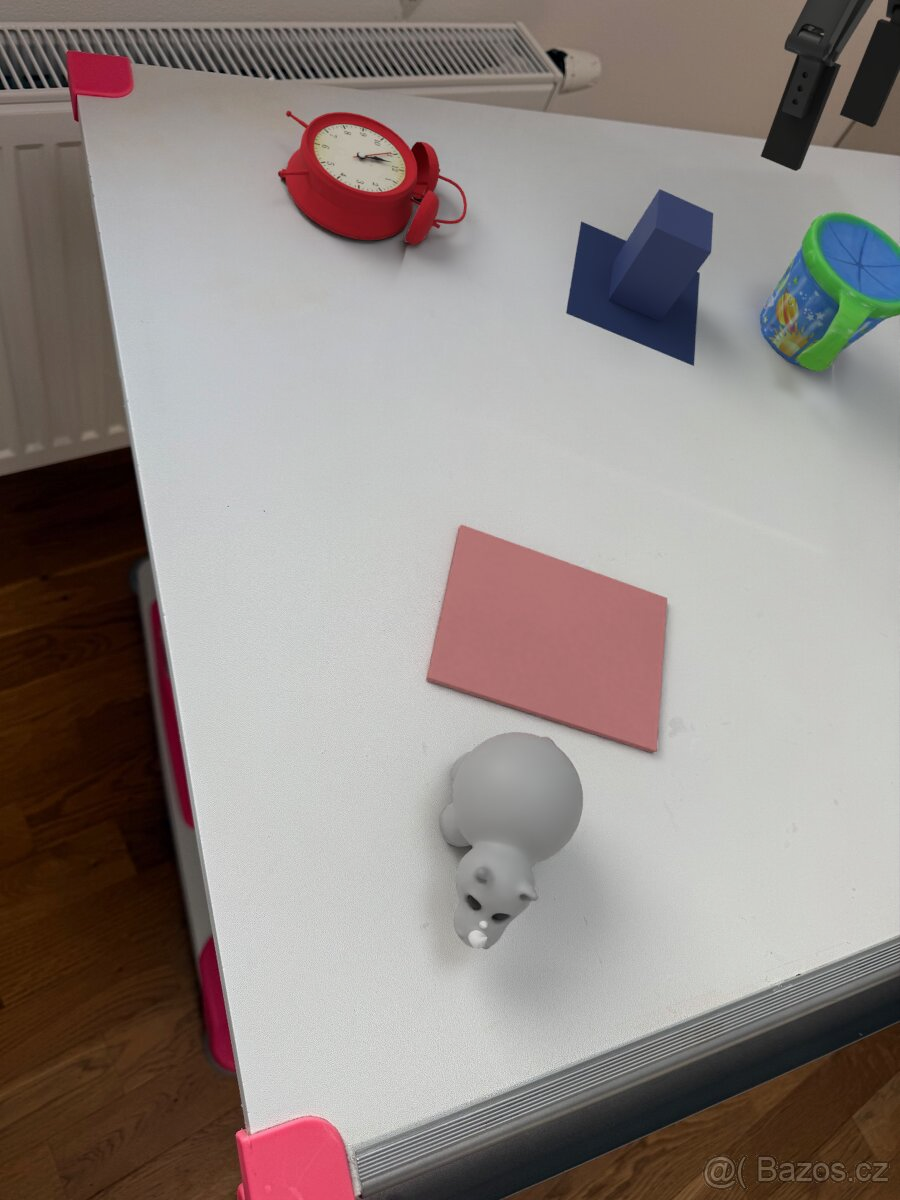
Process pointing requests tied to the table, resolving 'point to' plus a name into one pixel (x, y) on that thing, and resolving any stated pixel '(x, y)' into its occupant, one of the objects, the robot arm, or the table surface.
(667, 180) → the table surface
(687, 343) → the navy mat
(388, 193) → the alarm clock
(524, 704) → the rose mat
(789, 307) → the snack cup
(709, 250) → the navy block
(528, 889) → the chubby cartoon animal
